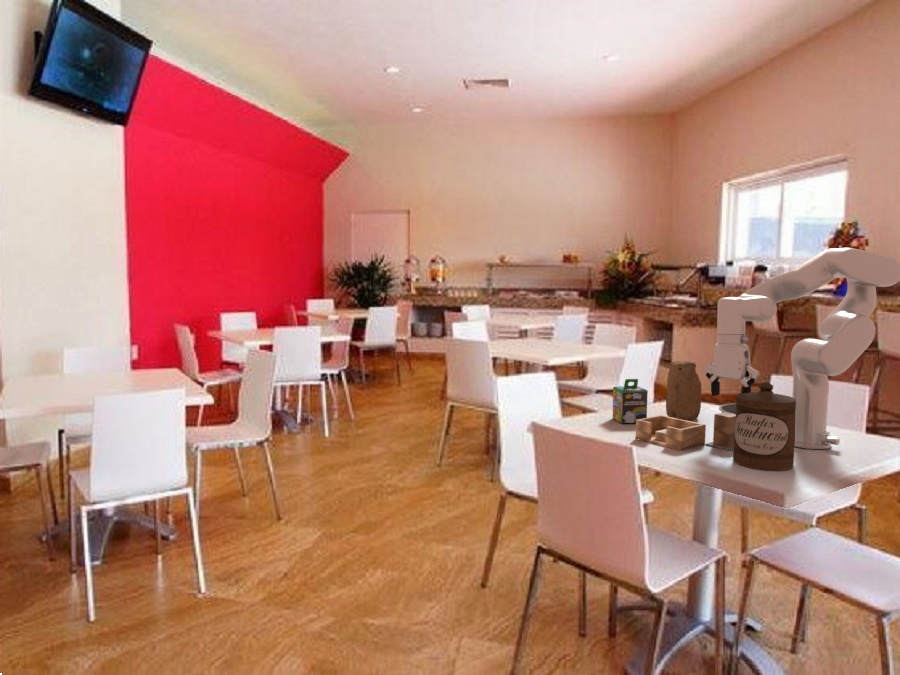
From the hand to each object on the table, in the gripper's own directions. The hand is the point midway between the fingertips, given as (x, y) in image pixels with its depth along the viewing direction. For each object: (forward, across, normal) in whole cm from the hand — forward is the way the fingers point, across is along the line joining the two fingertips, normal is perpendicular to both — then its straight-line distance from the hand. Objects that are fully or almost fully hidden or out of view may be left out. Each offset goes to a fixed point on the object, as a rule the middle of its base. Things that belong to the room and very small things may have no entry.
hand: (730, 397), depth 200 cm
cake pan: (+16, +13, -37) cm, 42 cm away
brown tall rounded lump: (+15, +31, -21) cm, 40 cm away
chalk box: (+14, +39, -2) cm, 41 cm away
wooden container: (+15, -15, +9) cm, 23 cm away
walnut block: (+14, +1, +1) cm, 14 cm away
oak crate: (+14, +13, +11) cm, 22 cm away
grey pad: (+14, +1, +1) cm, 15 cm away
